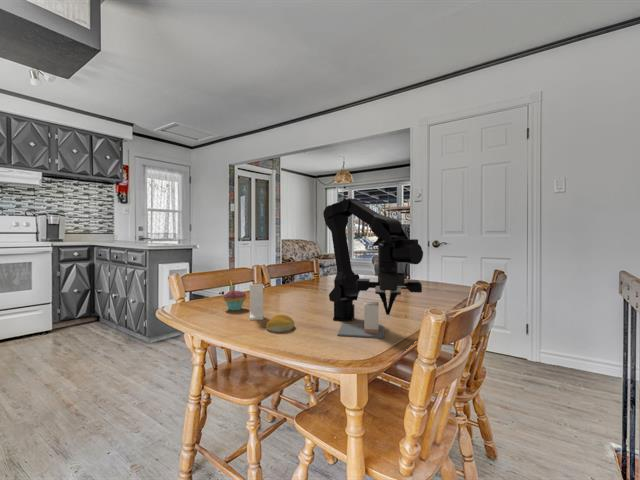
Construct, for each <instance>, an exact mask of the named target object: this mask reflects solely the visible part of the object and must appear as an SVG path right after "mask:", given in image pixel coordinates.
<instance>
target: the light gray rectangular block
mask: <svg viewBox="0 0 640 480" xmlns="http://www.w3.org/2000/svg"><path fill="white" fill-rule="evenodd" d="M249 320H250V321H256V320H257V321H259V320H261V321H262V320H264V284H263V283H262V284H261V283H259V284H258V283H257V284H249Z"/></svg>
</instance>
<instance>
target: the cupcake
mask: <svg viewBox="0 0 640 480" xmlns="http://www.w3.org/2000/svg"><path fill="white" fill-rule="evenodd" d="M229 284H230V291H228V292H227V293H225V294H224V296H223V300H224V302H225V304H226V306H227V309H228V310H229V311H240V310H242V308H243V304H244V302H245V301H246V300H247V295H246V293H245V292H243V291H240V290H234V287H233V281H232V279H231V278H229Z"/></svg>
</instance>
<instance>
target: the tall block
mask: <svg viewBox="0 0 640 480" xmlns="http://www.w3.org/2000/svg"><path fill="white" fill-rule="evenodd" d="M379 304H380V303H379V301H365V302H364V305H363V306H364V307H363V308H364V309H363V311H364V317H363V318H364V322H363V323H364V324H363V325H364V332H367V333H378V326H379Z"/></svg>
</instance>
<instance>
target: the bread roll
mask: <svg viewBox="0 0 640 480" xmlns="http://www.w3.org/2000/svg"><path fill="white" fill-rule="evenodd" d="M294 327H295V321H294V319H293V317H291V316H289V315H287V314H278V315H275V316H273V317H272V318H271V319H270V320H269V321H267V323H266V325H265V328H266V330H268V331H269V332H273V333H283V332H290V331H291V330H293V329H294Z"/></svg>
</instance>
